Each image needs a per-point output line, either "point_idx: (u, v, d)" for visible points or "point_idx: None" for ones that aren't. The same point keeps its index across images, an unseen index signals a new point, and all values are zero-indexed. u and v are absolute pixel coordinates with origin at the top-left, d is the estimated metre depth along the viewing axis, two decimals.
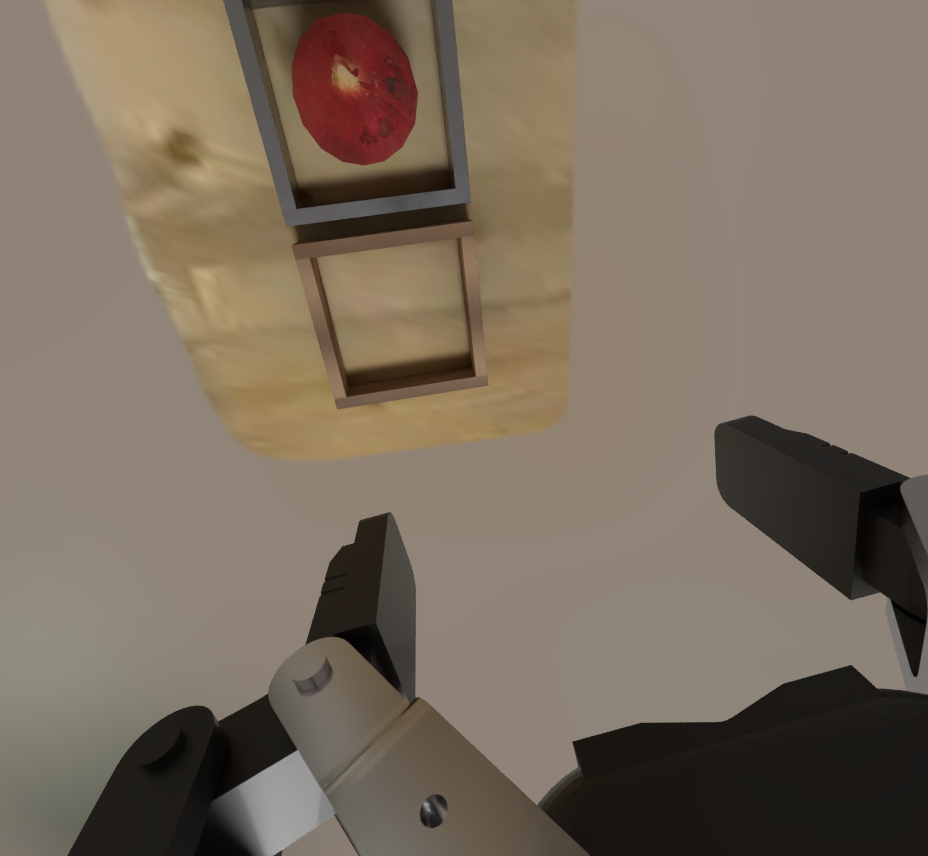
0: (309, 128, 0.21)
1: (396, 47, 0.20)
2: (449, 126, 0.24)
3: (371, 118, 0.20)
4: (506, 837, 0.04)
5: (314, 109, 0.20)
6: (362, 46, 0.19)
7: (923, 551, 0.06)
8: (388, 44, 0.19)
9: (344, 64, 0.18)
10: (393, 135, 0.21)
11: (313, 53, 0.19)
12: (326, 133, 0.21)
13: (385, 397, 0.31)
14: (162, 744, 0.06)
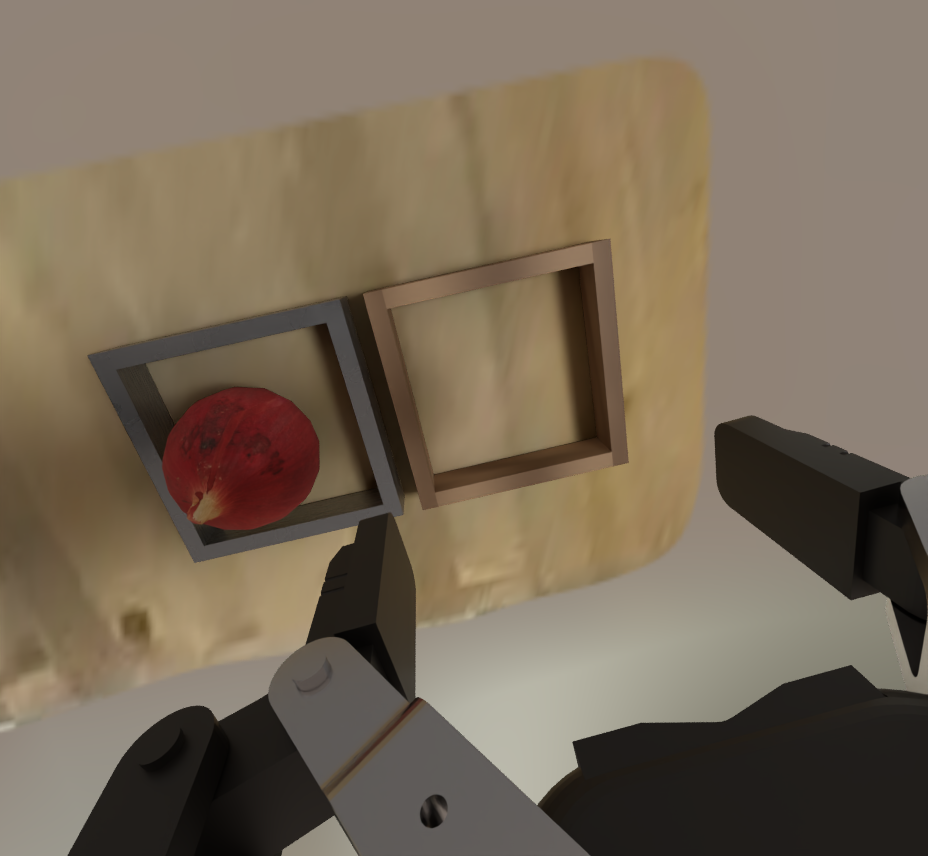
0: (288, 512, 0.19)
1: (178, 427, 0.17)
2: (257, 337, 0.19)
3: (249, 467, 0.16)
4: (506, 837, 0.04)
5: (261, 519, 0.17)
6: (178, 479, 0.16)
7: (923, 551, 0.06)
8: (175, 441, 0.16)
9: (191, 511, 0.15)
10: (267, 430, 0.17)
11: (205, 523, 0.17)
12: (283, 505, 0.18)
13: (616, 401, 0.21)
14: (161, 745, 0.06)
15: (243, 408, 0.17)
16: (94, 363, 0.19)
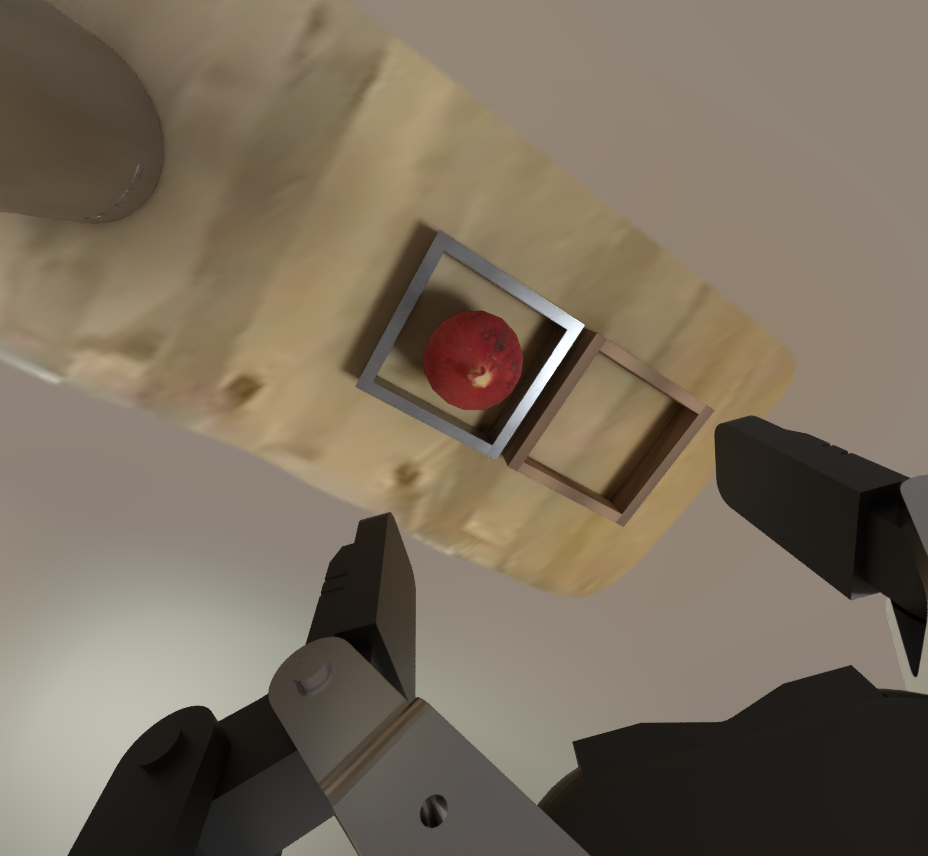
0: (472, 409, 0.27)
1: (476, 319, 0.25)
2: (529, 304, 0.28)
3: (506, 375, 0.24)
4: (506, 837, 0.04)
5: (472, 403, 0.25)
6: (469, 350, 0.23)
7: (923, 551, 0.06)
8: (474, 326, 0.24)
9: (476, 375, 0.23)
10: (519, 362, 0.25)
11: (448, 381, 0.24)
12: (487, 405, 0.26)
13: (647, 489, 0.33)
14: (162, 744, 0.06)
15: (516, 340, 0.25)
16: (438, 237, 0.26)
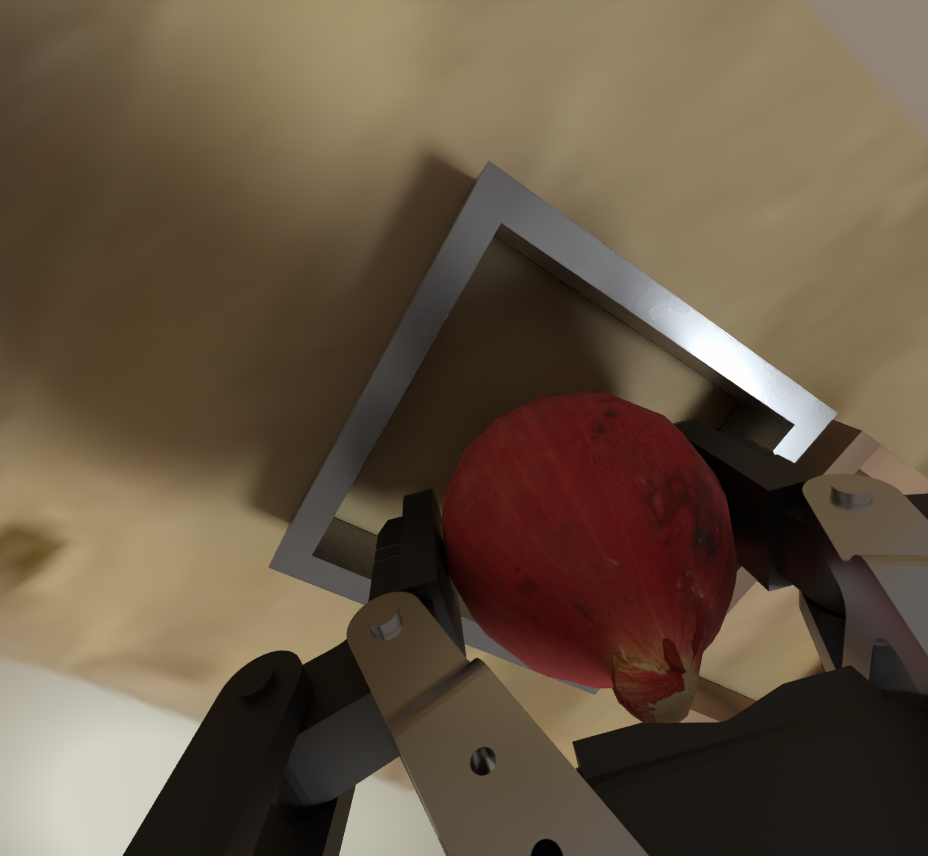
0: None
1: (615, 438, 0.08)
2: (710, 365, 0.11)
3: (719, 626, 0.07)
4: (549, 799, 0.04)
5: None
6: (612, 565, 0.07)
7: (834, 551, 0.06)
8: (614, 467, 0.07)
9: (657, 689, 0.06)
10: None
11: (526, 643, 0.07)
12: None
13: None
14: (257, 681, 0.06)
15: (722, 491, 0.08)
16: (484, 182, 0.09)
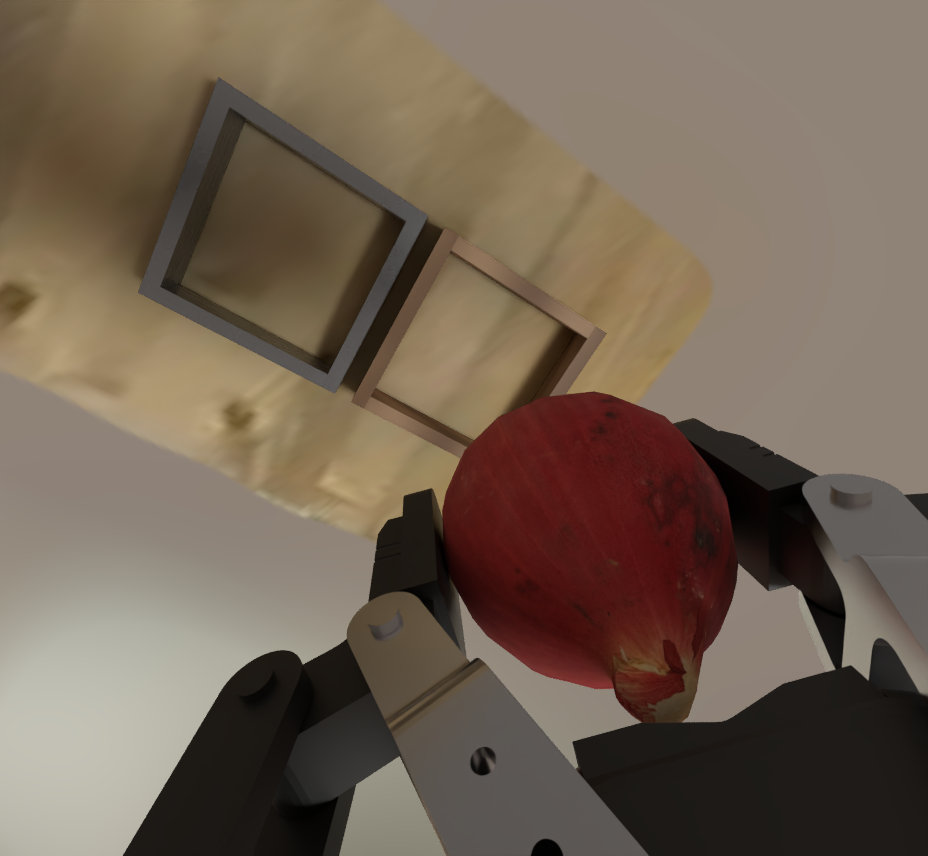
0: None
1: (615, 438, 0.08)
2: (352, 185, 0.22)
3: (720, 626, 0.07)
4: (549, 799, 0.04)
5: None
6: (612, 566, 0.07)
7: (834, 551, 0.06)
8: (614, 468, 0.07)
9: (657, 690, 0.06)
10: None
11: (526, 644, 0.07)
12: None
13: None
14: (257, 680, 0.06)
15: (722, 492, 0.08)
16: (218, 87, 0.20)
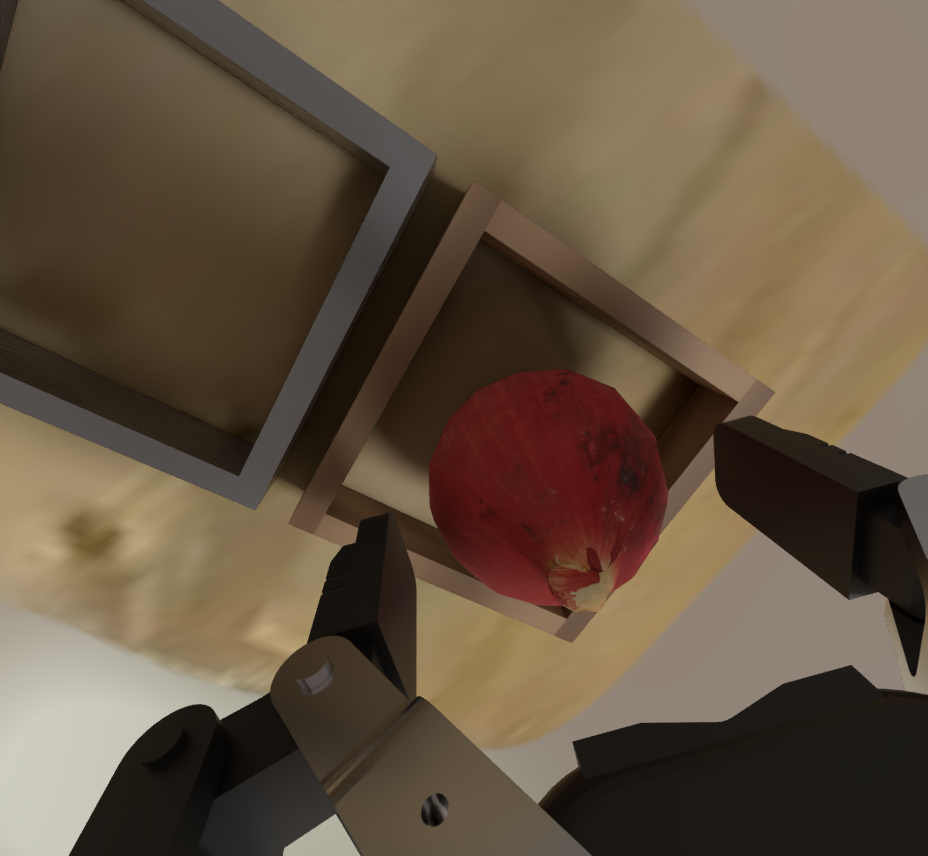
0: None
1: (563, 400, 0.10)
2: (268, 83, 0.10)
3: (644, 551, 0.09)
4: (507, 836, 0.04)
5: (545, 605, 0.10)
6: (552, 493, 0.08)
7: (921, 551, 0.06)
8: (559, 421, 0.09)
9: (578, 581, 0.08)
10: (666, 503, 0.10)
11: (489, 562, 0.09)
12: None
13: None
14: (163, 742, 0.06)
15: (657, 448, 0.10)
16: None
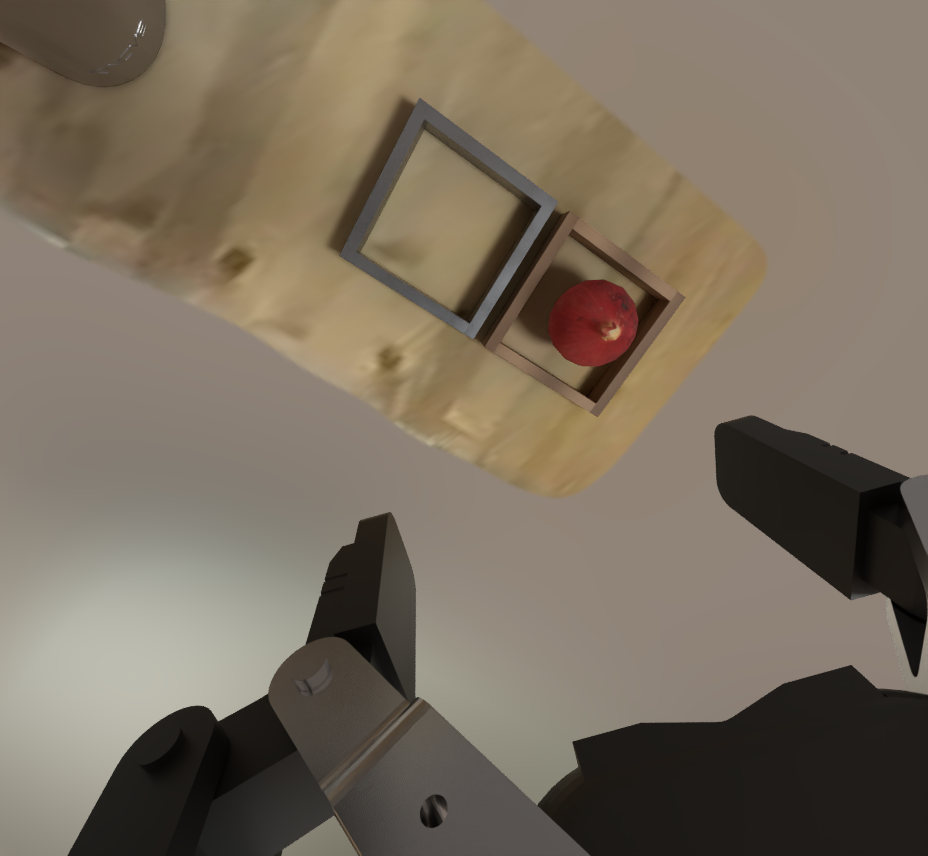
0: (590, 365, 0.31)
1: (603, 285, 0.29)
2: (505, 178, 0.29)
3: (629, 331, 0.28)
4: (506, 838, 0.04)
5: (595, 357, 0.29)
6: (601, 308, 0.28)
7: (923, 551, 0.06)
8: (602, 290, 0.28)
9: (610, 328, 0.27)
10: (637, 323, 0.29)
11: (579, 336, 0.29)
12: (607, 360, 0.30)
13: (621, 378, 0.34)
14: (161, 744, 0.06)
15: (634, 304, 0.29)
16: (418, 105, 0.27)
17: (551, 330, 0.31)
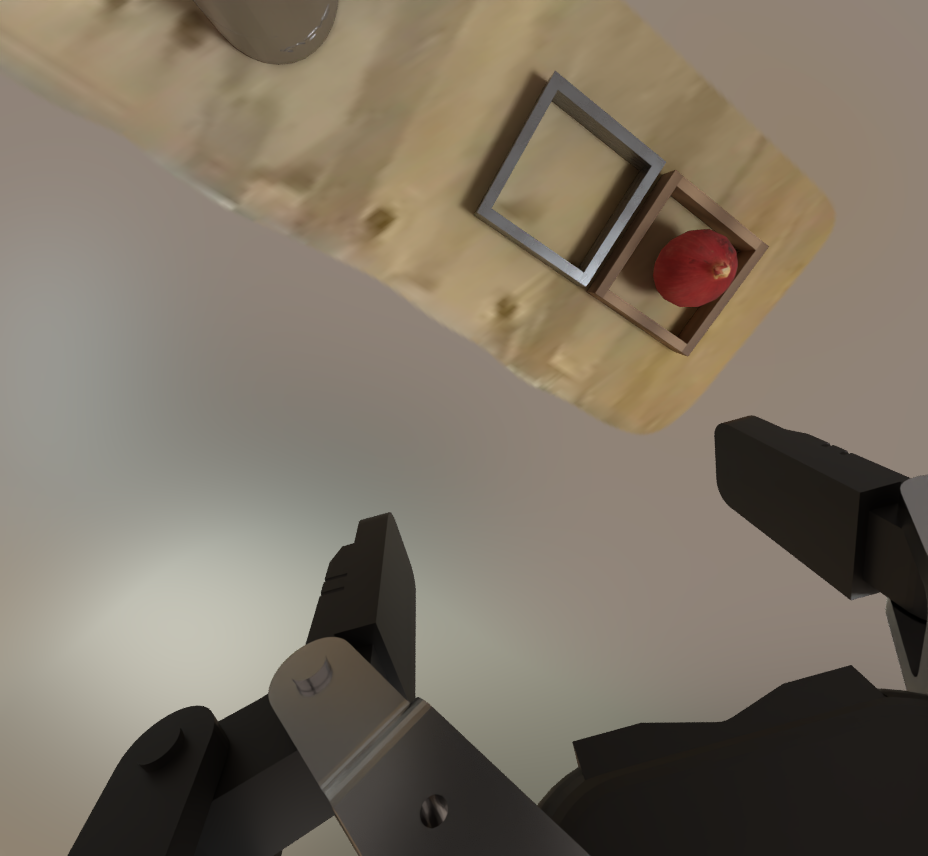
0: (693, 305, 0.35)
1: (709, 232, 0.33)
2: (622, 141, 0.34)
3: (734, 271, 0.33)
4: (506, 837, 0.04)
5: (702, 296, 0.34)
6: (712, 251, 0.32)
7: (923, 551, 0.06)
8: (710, 236, 0.33)
9: (723, 267, 0.32)
10: None
11: (690, 277, 0.33)
12: (710, 299, 0.34)
13: (710, 321, 0.39)
14: (162, 744, 0.06)
15: None
16: (553, 77, 0.32)
17: (659, 275, 0.35)
